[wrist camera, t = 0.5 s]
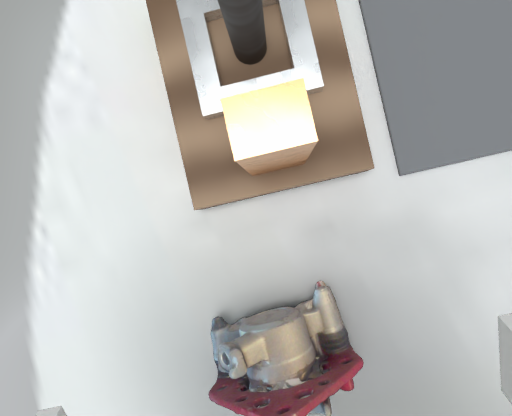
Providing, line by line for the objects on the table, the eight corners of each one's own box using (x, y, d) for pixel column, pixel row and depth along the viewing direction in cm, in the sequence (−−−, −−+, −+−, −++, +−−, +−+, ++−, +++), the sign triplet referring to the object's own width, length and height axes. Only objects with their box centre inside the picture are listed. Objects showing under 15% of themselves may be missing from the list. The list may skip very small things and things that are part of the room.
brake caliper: (236, 463, 32) (184, 446, 23) (221, 330, 39) (176, 273, 30) (378, 432, 32) (385, 401, 22) (338, 301, 38) (330, 234, 29)
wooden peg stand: (366, 171, 34) (450, 140, 17) (201, 209, 35) (124, 217, 18) (319, -31, 34) (357, -267, 17) (156, 12, 35) (35, -169, 18)
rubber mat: (588, 132, 33) (591, 131, 32) (399, 176, 34) (400, 175, 33) (542, -65, 33) (545, -68, 32) (355, -16, 34) (356, -18, 33)
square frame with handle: (337, 156, 31) (371, 128, 19) (221, 183, 32) (183, 173, 20) (295, -26, 31) (302, -169, 19) (180, 5, 31) (117, -115, 20)
